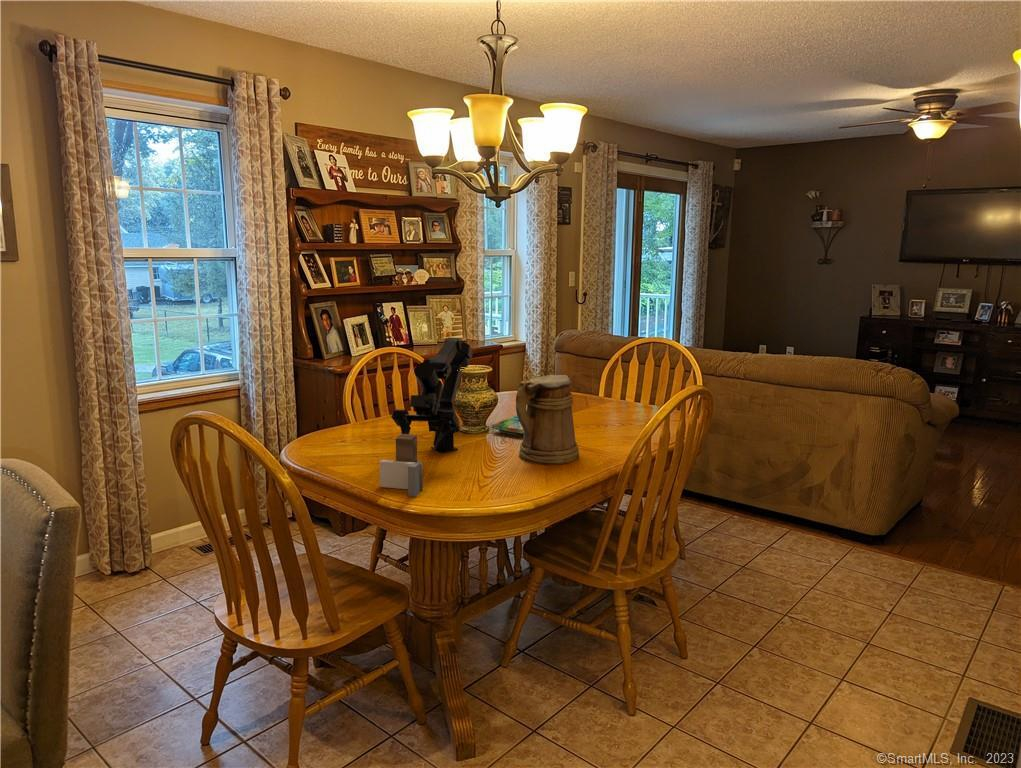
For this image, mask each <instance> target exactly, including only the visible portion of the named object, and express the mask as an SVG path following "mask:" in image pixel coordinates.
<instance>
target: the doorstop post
mask: <svg viewBox="0 0 1021 768" xmlns="http://www.w3.org/2000/svg"><path fill="white" fill-rule="evenodd" d="M395 461H403V462H418V435H417V434H410V433H409V434H400V435H399V434H398V436H397V437H395Z"/></svg>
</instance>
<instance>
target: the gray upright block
mask: <svg viewBox="0 0 1021 768" xmlns="http://www.w3.org/2000/svg"><path fill="white" fill-rule="evenodd" d="M420 491H421V490H420V484H419V464H418V463H411V464H410V465H409V466H408V489H407V497H412V498H413V497H414V498H416V497H417V496H419V494H420V493H421V492H420Z"/></svg>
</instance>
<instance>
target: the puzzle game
mask: <svg viewBox="0 0 1021 768" xmlns="http://www.w3.org/2000/svg"><path fill="white" fill-rule="evenodd" d="M491 429H494V430H498V431H499V432H500V433H501V434H507V435H513V436H518V437H522V438H523V435H524V429H523V427H522V425H521V423H520V421H519V419H518V416H517V414H516V415H514V416H511V417H509V418H506V419H503V420H501V421H498V422H495V423H493V424H492V425H491Z"/></svg>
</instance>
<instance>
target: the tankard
mask: <svg viewBox="0 0 1021 768" xmlns="http://www.w3.org/2000/svg"><path fill="white" fill-rule="evenodd" d="M571 384H572V382H571V380H570V378H569V376H568V375H567V374H550V375H549V374H548V375H543V376H542V375H541V376H538V377H534V378H530V379H529V380H527V381H525V380H524V381H520V382H519V385H518V387H517V391H516V395H515V410H516V415H517V416H518V419H519V421H520V423H521V425H522V427H523V429H524V435H523V437H522V441H521V442H520V444H519V448H520V449H519V452H518V455H519V457H520V458H522V459H523V460H524V461H527V462H530V463H532V464H537V465H543V466H544V465H546V466H547V465H549V466H550V465H551V466H552V465H554V466H556V465H563V464H568V463H571V462H573V461H575V460H576V459H577V458H578V457H579V456H580V452H579V451H580V449H579V445H578V443H577V439H576V434H575V433H576V432H575V426H574V425H575V424H574V416H573V408H572V406H573V405H574V400H573V394H572V392H571V391H570V385H571Z"/></svg>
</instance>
